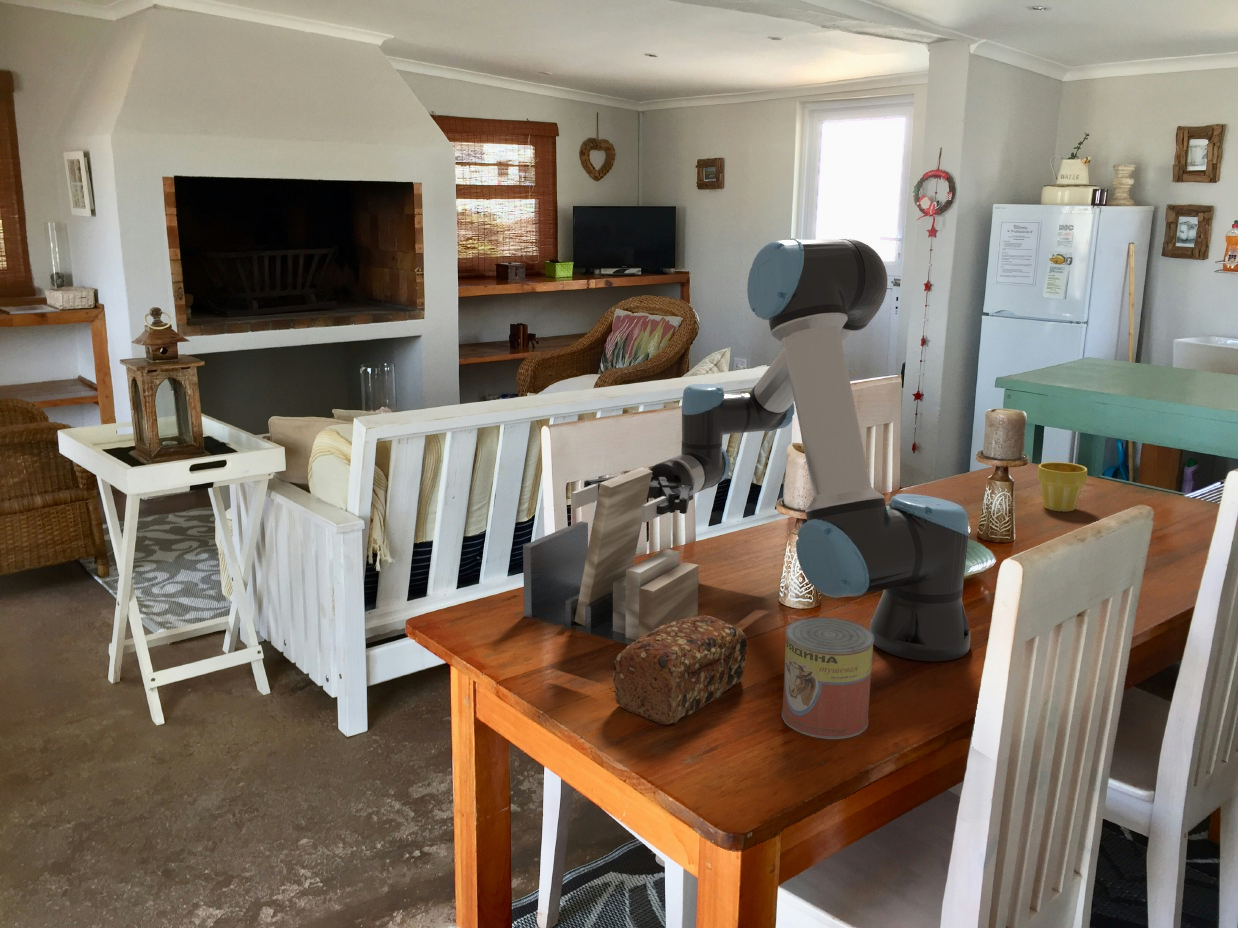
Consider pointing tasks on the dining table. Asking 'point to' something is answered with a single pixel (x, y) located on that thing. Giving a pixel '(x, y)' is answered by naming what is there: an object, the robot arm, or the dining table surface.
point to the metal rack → (564, 584)
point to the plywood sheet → (613, 535)
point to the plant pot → (1061, 484)
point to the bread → (679, 668)
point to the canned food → (827, 677)
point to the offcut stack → (655, 594)
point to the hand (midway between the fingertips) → (607, 507)
